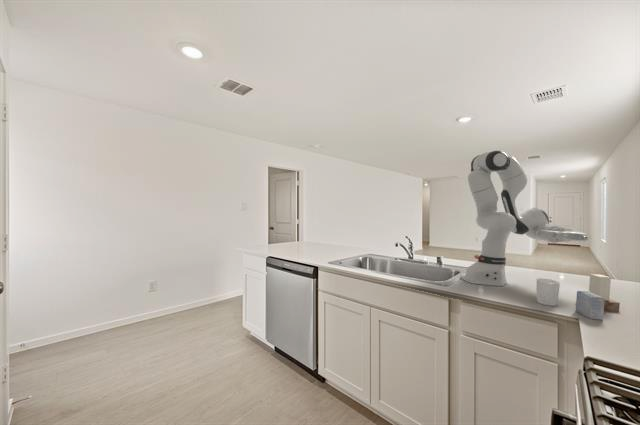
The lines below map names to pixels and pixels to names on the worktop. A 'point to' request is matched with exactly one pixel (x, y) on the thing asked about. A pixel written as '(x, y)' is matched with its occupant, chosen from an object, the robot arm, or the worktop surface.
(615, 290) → the worktop surface
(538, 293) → the white cup
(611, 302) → the walnut block
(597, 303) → the medicine box
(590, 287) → the cream pillar
